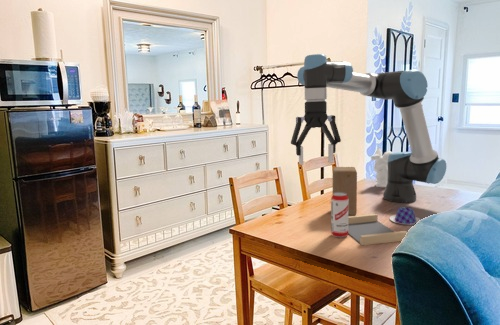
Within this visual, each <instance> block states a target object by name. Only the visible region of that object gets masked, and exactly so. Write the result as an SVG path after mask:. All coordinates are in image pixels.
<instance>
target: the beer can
mask: <svg viewBox="0 0 500 325" xmlns="http://www.w3.org/2000/svg"><path fill="white" fill-rule="evenodd" d="M330 204H331V205H330V223H331V224H330V233H331V235H333V237H335V238H338V239H340V238H341V239H342V238H346V237H347V236H348V235H349V234H348V217H349V216H348V211H349V199H348V197H347V193H344V192H335V193H333V192H332V195H331V198H330Z"/></svg>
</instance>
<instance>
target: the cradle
mask: <svg viewBox="0 0 500 325" xmlns="http://www.w3.org/2000/svg"><path fill="white" fill-rule="evenodd" d="M378 220H379V219H378V214H377V213H370V214H360V215H355V216H348V235H349V236H350V237H351V238H353V239H354V241H356V242H358V244H360V245H361V246H367V245H369V246H370V245H377V244H378V245H379V244H386V243H387V244H388V243H395V242H396V243H397V242H403V241H402V239H403V238H404V237H405V235H406V233H407V234H408V231H406V230H401V231H395V230H393V229H391V228H389V227H387V226H386V225H385V224H383V223H382V222H379V221H378Z"/></svg>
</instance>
